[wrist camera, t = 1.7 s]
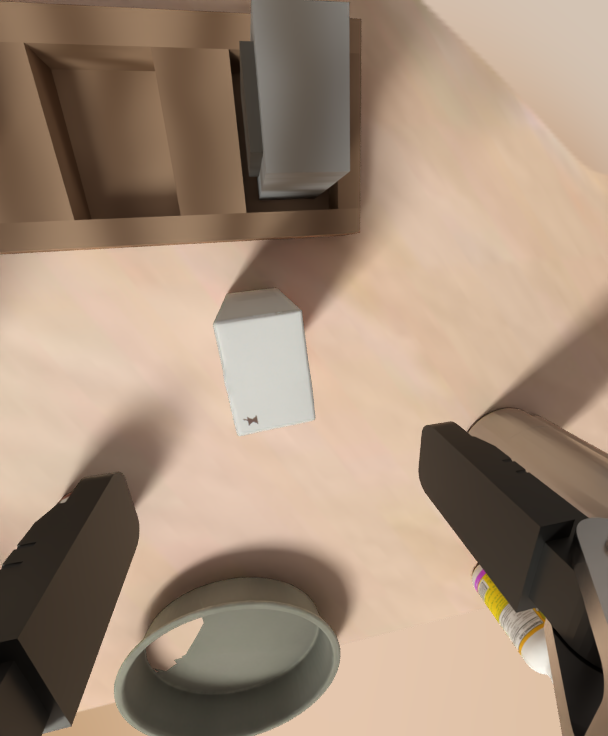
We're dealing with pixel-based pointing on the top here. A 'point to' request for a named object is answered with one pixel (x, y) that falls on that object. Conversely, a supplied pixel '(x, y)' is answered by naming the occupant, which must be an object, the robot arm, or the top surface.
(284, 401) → the skincare box
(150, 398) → the top surface
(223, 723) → the cake pan
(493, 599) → the supplement bottle
